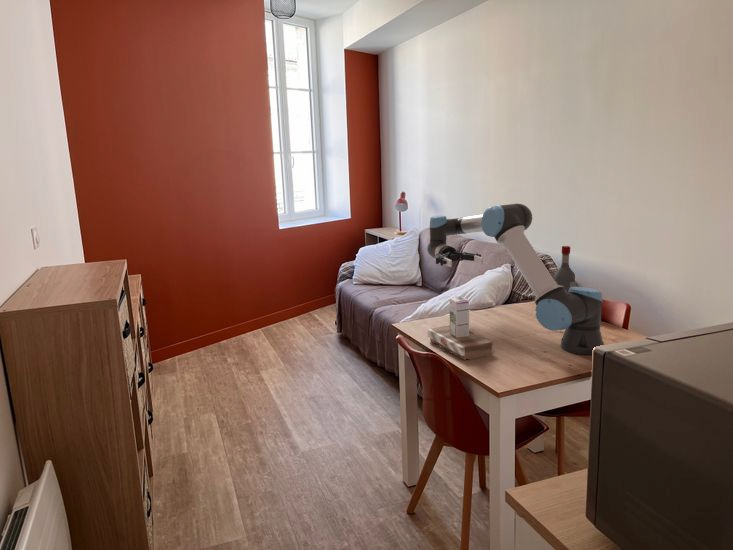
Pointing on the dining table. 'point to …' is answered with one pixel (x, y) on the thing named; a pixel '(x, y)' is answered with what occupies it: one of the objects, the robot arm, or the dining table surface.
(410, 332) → the dining table surface
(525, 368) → the dining table surface
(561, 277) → the liquor
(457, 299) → the syrup box
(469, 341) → the striped flat box
